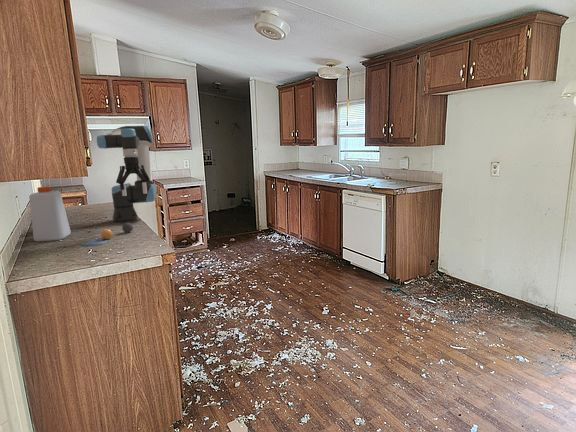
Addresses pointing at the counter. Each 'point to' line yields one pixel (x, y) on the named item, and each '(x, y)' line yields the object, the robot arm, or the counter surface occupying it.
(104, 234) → the orange ball
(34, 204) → the plastic bottle
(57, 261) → the counter surface
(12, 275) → the counter surface
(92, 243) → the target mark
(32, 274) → the counter surface
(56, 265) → the counter surface
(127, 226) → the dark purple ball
